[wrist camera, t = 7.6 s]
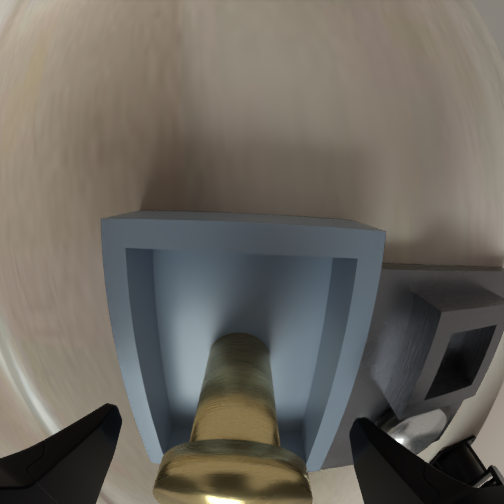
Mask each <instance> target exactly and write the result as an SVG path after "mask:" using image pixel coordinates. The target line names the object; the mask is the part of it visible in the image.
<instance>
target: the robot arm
mask: <svg viewBox="0 0 504 504" xmlns="http://www.w3.org/2000/svg"><path fill="white" fill-rule="evenodd" d="M121 425H122V418H121V415H120V413H119V410H118V407H117V406H116V405H113V404H109V403H107V404H105V405H103V406H101V407H100V408H98V409H96V410H95V411H93V412H92V413H90V414H88V415H87V416H85V417H83V418H82V419H80V420H78V421H76V422H75V423H73V424H71V425H70V426H68V427H66V428H64V429H63V430H61V431H59V432H57V433H56V434H54V435H52V436H50V437H48V438H47V439H45V440H43V441H41V442H39V443H37V444H35V445H33V446H31V447H29V448H27V449H25V450H22V451H20V452H17V453H14V454H12V455H9V456H6V457H3V458H0V504H96V502H97V499H98V496H99V493H100V490H101V487H102V485H103V482H104V479H105V477H106V474H107V471H108V469H109V466H110V463H111V461H112V458H113V455H114V452H115V449H116V445H117V441H118V437H119V433H120V429H121ZM349 438H350V444H351V451H352V457H353V463H354V468H355V472H356V476H357V479H358V483H359V486H360V490H361V493H362V497H363V501H364V504H504V478H503V476H502V475H501V473H500V472H499V470H498V469H497V468H496V467H495V466H493V465H491V466H490V467H488V469H487V470H486V468H485V467H484V465H483V464H482V462H481V461H480V459H479V458H478V456H477V455H476V453H475V452H474V450H473V449H472V448H471V446H470V445H471V444H472V443H473V442H474V440H475V439H476V437H475V435H474V436H472V437H470V438H468V439H466V440H464V441H462V442H460V443H458V444H456V445H454V446H452V447H449V448H447V449H445V450H443V451H441V452H440V453H439V454H438V455H437V456H436V457H435V459H434V460H433V461H432V462H431V464H428V463H427V462H425V461H424V460H422V459H421V458H420V457H418V456H417V455H415V454H414V453H413V452H411V451H410V450H409V449H407V448H406V447H404V446H403V445H402V444H400V443H399V442H398V441H396V440H395V439H394V438H392V437H391V436H390V435H388V434H387V433H386V432H384V431H383V430H382V429H381V428H379V427H378V426H377V425H375V424H374V423H373V422H372V421H370V420H369V419H368V418H366V417H361V418H356V419H355V420H354V422H353V424H352V427H351V429H350V432H349ZM491 476H493V478H492V479H491V480H489V481H487V482H485V481H486V480H487V479H488V478H489V477H491ZM484 482H485V483H484ZM482 483H484V484H483V485H482V486H481V487H479V486H480V485H481V484H482ZM478 487H479V488H478Z"/></svg>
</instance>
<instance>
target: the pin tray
mask: <svg viewBox="0 0 504 504" xmlns="http://www.w3.org/2000/svg"><path fill="white" fill-rule="evenodd" d="M101 237H102V254H103V266H104V276H105V285H106V294H107V301H108V308H109V314H110V320H111V326H112V332H113V337H114V342H115V347H116V352H117V356H118V361H119V365H120V369H121V373H122V377H123V381H124V384H125V388H126V392H127V395H128V399H129V402H130V405H131V408H132V412H133V415H134V418H135V421H136V424H137V427H138V430H139V432H140V435H141V438H142V440H143V443H144V446H145V448H146V451H147V453H148V456H149V458H150V461H151V462H153V463H158V464H160V463H161V460H162V457H163V455H164V454H165V453H166V452H167V451H168V450H169V449H171V448H173V447H175V446H177V445H180V444H183V443H187V442H190V437H191V432H192V428H193V423H194V419H195V414H196V410H197V405H198V401H199V396H200V392H201V387H202V383H203V379H204V374H205V370H206V366H207V361H208V357H209V353H210V349H211V347H212V345H213V344H214V342H215V341H216V340H217V339H219V338H220V337H222V336H224V335H227V334H230V333H238V332H241V333H247V334H251V335H253V336H256V337H257V338H259V339H260V340H261V341H263V342H264V344H265V345H266V346H267V348H268V350H269V354H270V362H271V371H272V379H273V388H274V396H275V404H276V413H277V422H278V430H279V439H280V447H281V448H284V449H287V450H289V451H291V452H293V453H295V454H296V455H298V456H299V457H300V458H301V459H302V460H303V461H304V462H305V464H306V467H307V472H312V471H319V470H320V468H321V466H322V464H323V462H324V460H325V458H326V455H327V453H328V451H329V449H330V446H331V444H332V442H333V439H334V437H335V434H336V432H337V429H338V427H339V424H340V422H341V419H342V416H343V414H344V411H345V408H346V405H347V403H348V400H349V397H350V394H351V391H352V388H353V385H354V382H355V379H356V375H357V372H358V369H359V365H360V362H361V358H362V355H363V351H364V347H365V344H366V340H367V336H368V332H369V328H370V323H371V319H372V315H373V310H374V305H375V300H376V295H377V290H378V285H379V279H380V273H381V267H382V260H383V254H384V246H385V238H386V231H383V230H380V229H377V228H374V227H371V226H368V225H364V224H361V223H358V222H355V221H352V220H342V219H329V218H316V217H302V216H286V215H268V214H248V213H224V212H190V211H136V212H131V213H126V214H121V215H117V216H112V217H108V218H103V219H101Z"/></svg>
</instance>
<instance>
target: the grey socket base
mask: <svg viewBox="0 0 504 504" xmlns="http://www.w3.org/2000/svg"><path fill="white" fill-rule="evenodd" d="M503 331H504V268H502V267H481V266H449V265H420V264H393V263H382V267H381V273H380V279H379V285H378V290H377V295H376V300H375V305H374V310H373V315H372V319H371V323H370V328H369V332H368V336H367V340H366V344H365V347H364V351H363V355H362V358H361V362H360V365H359V369H358V372H357V375H356V379H355V382H354V385H353V388H352V391H351V394H350V397H349V400H348V403H347V405H346V408H345V411H344V414H343V416H342V419H341V422H340V424H339V427H338V429H337V432H336V434H335V437H334V439H333V442H332V444H331V446H330V449H329V451H328V453H327V455H326V458H325V460H324V462H323V464H322V466H321V468H320V469H328V468H335V467H342V466H348V465H353V464H354V463H353V457H352V451H351V444H350V438H349V432H350V429H351V427H352V424H353V422H354V420H355V419H356V418H361V417H366V418H368V419H369V420H370V421H372V422H373V423H374V424H375V425H377V426H378V427H379V428H381V429H382V430H383V431H384V432H386V433H387V434H388V435H390V436H391V437H392V438H394V439H395V440H396V441H398V442H399V443H400V444H402V445H403V446H404V447H406V448H407V449H409V450H410V451H411V452H413V453H414V454H415V455H417V454H419V453H420V452H421V451H423V450H424V449H425V448H427V447H428V446H429V445H430V444H431V443H432V442H435V441H438V440H439V439H440V437H441V436H442V434H443V433H444V431H445V430H446V428H447V427H448V425H449V424H450V422H451V421H452V419H453V417H454V416H455V414H456V412H457V411H458V409H459V407H460V406H461V404H462V402H463V400H464V399H467V398H469V397H472V396H474V395H475V394H476V392H477V390H478V388H479V386H480V384H481V382H482V380H483V378H484V376H485V374H486V372H487V370H488V368H489V366H490V363H491V361H492V359H493V357H494V354H495V352H496V349H497V347H498V345H499V342H500V339H501V337H502V334H503Z"/></svg>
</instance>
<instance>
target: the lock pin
mask: <svg viewBox="0 0 504 504" xmlns="http://www.w3.org/2000/svg"><path fill="white" fill-rule="evenodd" d="M153 495H154V497H155V499H156V500H157V501H158V502H159V503H160V504H312V499H313V498H312V493H311V488H310V482H309V477H308V472H307V467H306V464H305V462H304V461H303V460H302V459H301V458H300V457H299V456H298V455H296V454H295V453H293V452H291V451H289V450H287V449H284V448H281V447H280V439H279V430H278V422H277V413H276V404H275V396H274V388H273V379H272V371H271V362H270V354H269V350H268V348H267V346H266V345H265V344H264V342H263V341H261V340H260V339H259V338H257V337H256V336H253V335H251V334H247V333H241V332H238V333H230V334H227V335H224V336H222V337H220V338H219V339H217V340H216V341H215V342H214V344H213V345H212V347H211V349H210V353H209V357H208V361H207V366H206V370H205V374H204V379H203V383H202V387H201V392H200V396H199V401H198V405H197V410H196V414H195V419H194V423H193V428H192V432H191V437H190V442H187V443H183V444H180V445H177V446H175V447H173V448H171V449H169V450H168V451H167V452H166V453H165V454H164V455H163V457H162V460H161V463H160V466H159V470H158V473H157V477H156V480H155V484H154V488H153Z"/></svg>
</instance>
